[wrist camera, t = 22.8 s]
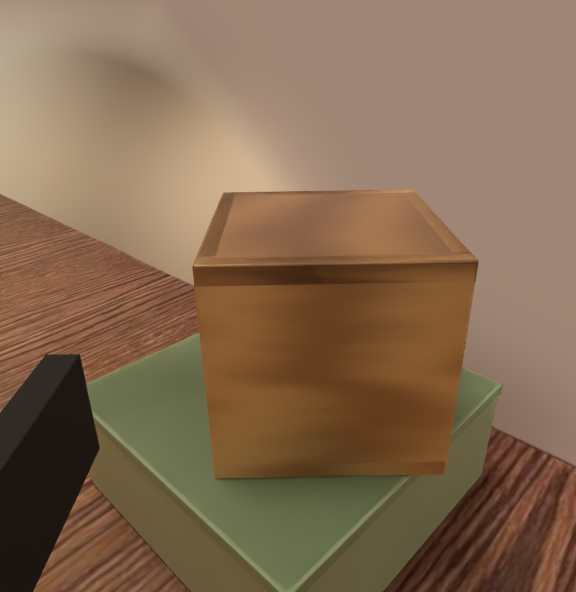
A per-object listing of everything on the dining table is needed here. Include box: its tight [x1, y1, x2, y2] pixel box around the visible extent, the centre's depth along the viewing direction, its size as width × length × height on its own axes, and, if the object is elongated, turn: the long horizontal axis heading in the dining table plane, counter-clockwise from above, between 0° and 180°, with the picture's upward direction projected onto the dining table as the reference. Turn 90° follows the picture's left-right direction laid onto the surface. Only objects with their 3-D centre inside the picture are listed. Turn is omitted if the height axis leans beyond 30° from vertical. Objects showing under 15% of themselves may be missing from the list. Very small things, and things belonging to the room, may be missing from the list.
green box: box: [86, 333, 502, 592], centre depth 27 cm, size 15×15×6 cm
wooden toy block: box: [193, 189, 478, 479], centre depth 22 cm, size 9×9×9 cm
